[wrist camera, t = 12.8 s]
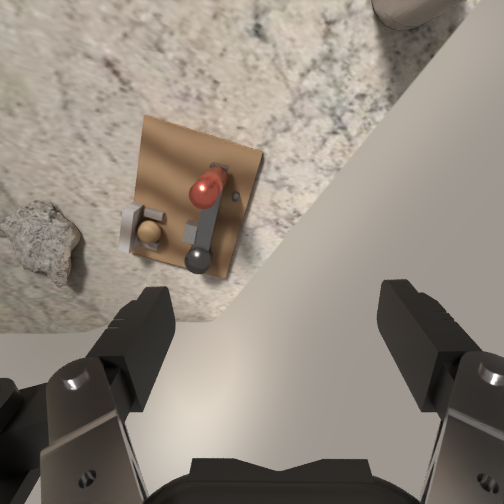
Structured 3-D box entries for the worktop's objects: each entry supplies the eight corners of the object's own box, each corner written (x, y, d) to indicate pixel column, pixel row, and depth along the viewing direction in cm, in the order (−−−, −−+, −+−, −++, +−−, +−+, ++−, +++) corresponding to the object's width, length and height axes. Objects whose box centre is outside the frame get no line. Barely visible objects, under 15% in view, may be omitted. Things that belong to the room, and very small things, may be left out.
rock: (46, 199, 44) (83, 287, 49) (68, 194, 48) (100, 276, 53) (-20, 210, 47) (22, 291, 53) (5, 204, 51) (42, 280, 56)
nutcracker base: (147, 115, 42) (132, 115, 37) (262, 151, 43) (262, 156, 38) (130, 248, 51) (117, 262, 46) (226, 275, 53) (222, 291, 48)
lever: (210, 268, 49) (194, 312, 38) (180, 260, 49) (156, 303, 38) (234, 167, 42) (223, 187, 31) (200, 158, 41) (177, 174, 31)
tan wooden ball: (143, 214, 47) (134, 222, 44) (165, 220, 47) (158, 229, 44) (141, 234, 48) (132, 243, 45) (162, 240, 49) (155, 249, 46)
